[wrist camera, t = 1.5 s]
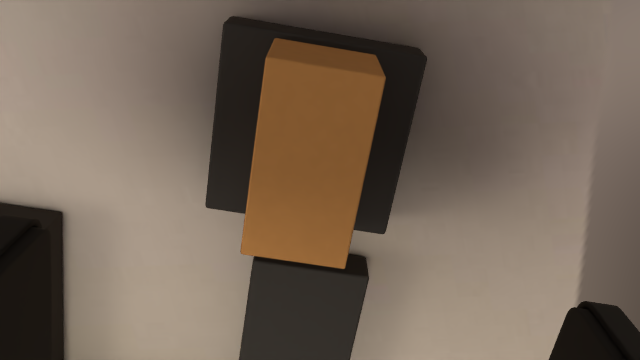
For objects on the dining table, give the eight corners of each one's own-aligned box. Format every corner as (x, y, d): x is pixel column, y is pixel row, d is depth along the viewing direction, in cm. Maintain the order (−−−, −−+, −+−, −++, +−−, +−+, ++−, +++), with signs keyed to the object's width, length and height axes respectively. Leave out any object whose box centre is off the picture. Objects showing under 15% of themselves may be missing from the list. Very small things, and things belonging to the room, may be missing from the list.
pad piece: (230, 15, 19) (204, 38, 15) (420, 48, 19) (447, 79, 15) (212, 191, 21) (185, 252, 17) (381, 216, 22) (395, 283, 18)
